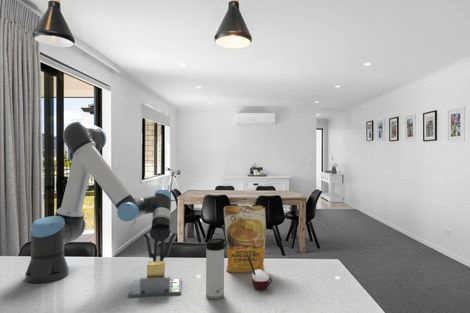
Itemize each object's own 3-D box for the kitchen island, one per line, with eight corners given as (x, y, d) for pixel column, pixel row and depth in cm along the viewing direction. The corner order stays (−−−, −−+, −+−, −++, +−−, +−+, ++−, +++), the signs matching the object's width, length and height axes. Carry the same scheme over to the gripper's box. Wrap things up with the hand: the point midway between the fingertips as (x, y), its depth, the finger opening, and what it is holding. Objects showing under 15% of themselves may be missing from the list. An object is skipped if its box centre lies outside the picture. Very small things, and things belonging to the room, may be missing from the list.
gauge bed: (128, 297, 110) (128, 279, 110) (134, 283, 123) (134, 267, 123) (180, 294, 113) (181, 277, 113) (181, 280, 125) (181, 265, 126)
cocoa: (271, 286, 121) (272, 254, 122) (272, 292, 115) (273, 259, 116) (246, 284, 122) (248, 252, 123) (245, 290, 116) (247, 257, 117)
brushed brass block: (146, 290, 113) (147, 265, 113) (148, 286, 117) (148, 261, 117) (176, 288, 115) (177, 263, 115) (177, 284, 119) (177, 260, 119)
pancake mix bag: (222, 268, 141) (223, 204, 141) (265, 267, 143) (265, 204, 143) (223, 273, 134) (223, 206, 135) (268, 272, 136) (268, 206, 136)
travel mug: (222, 300, 108) (222, 241, 108) (203, 299, 109) (204, 240, 109) (226, 293, 114) (227, 237, 114) (208, 291, 115) (209, 236, 115)
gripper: (176, 225, 139) (175, 277, 122) (146, 226, 137) (140, 279, 120) (176, 215, 134) (174, 268, 117) (144, 216, 132) (138, 270, 115)
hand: (157, 274), depth 119 cm, fingers closed
